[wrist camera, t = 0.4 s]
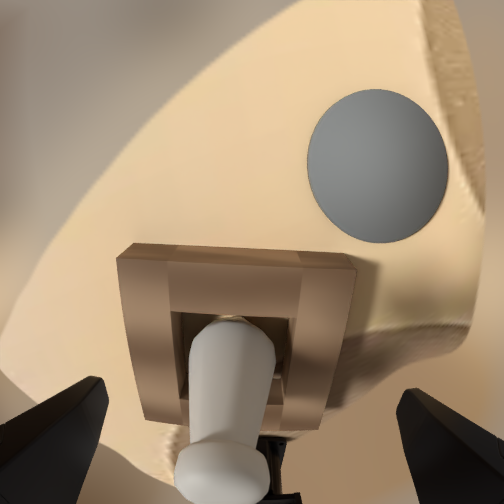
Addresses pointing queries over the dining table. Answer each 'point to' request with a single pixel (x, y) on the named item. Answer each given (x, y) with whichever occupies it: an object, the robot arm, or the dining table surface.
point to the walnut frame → (240, 304)
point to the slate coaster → (377, 166)
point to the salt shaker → (226, 414)
